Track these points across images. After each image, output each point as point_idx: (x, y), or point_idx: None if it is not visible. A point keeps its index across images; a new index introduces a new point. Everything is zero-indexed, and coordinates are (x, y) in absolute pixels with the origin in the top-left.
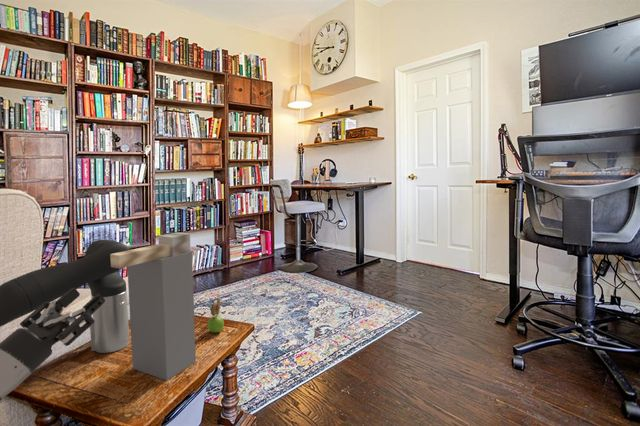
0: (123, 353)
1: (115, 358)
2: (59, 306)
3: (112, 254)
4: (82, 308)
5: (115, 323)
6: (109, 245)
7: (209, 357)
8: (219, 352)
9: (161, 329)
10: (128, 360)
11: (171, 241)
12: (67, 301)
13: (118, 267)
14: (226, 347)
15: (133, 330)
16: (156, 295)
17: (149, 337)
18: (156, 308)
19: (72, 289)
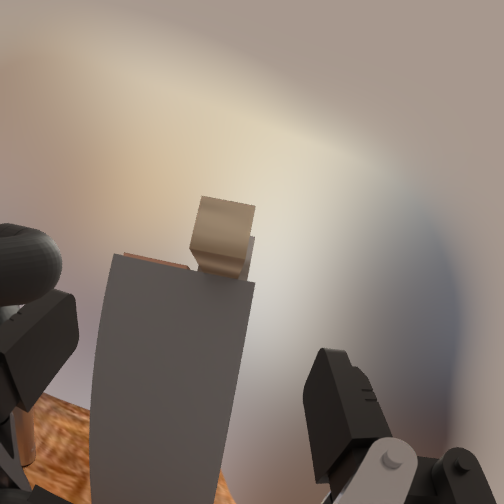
0: (41, 475)
1: (34, 485)
2: (2, 397)
3: (214, 198)
4: (380, 444)
5: (20, 416)
6: (39, 234)
7: (219, 496)
8: (223, 486)
9: (207, 469)
10: (65, 497)
11: (249, 247)
12: (37, 370)
13: (237, 254)
14: (223, 476)
15: (99, 459)
16: (207, 385)
17: (156, 482)
18: (198, 420)
19: (65, 295)
